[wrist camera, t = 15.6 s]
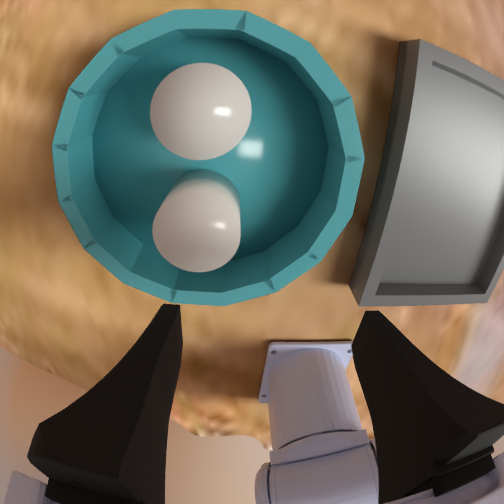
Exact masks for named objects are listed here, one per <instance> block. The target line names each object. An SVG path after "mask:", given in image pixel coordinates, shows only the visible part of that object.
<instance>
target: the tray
mask: <svg viewBox="0 0 504 504" xmlns="http://www.w3.org/2000/svg"><path fill="white" fill-rule="evenodd" d="M503 269H504V80H502V79H500V78H499V77H497V76H495V75H493V74H492V73H490V72H488V71H486V70H485V69H483V68H481V67H479V66H477V65H475V64H473V63H471V62H469V61H468V60H466V59H464V58H461V57H459V56H457V55H455V54H453V53H451V52H449V51H447V50H444V49H442V48H440V47H438V46H435V45H433V44H431V43H428V42H426V41H423V40H421V39H418V40H410V41H402V42H400V45H399V55H398V64H397V72H396V79H395V87H394V94H393V100H392V107H391V113H390V119H389V125H388V130H387V136H386V141H385V146H384V151H383V156H382V161H381V166H380V170H379V175H378V180H377V184H376V188H375V193H374V197H373V201H372V205H371V209H370V213H369V217H368V221H367V225H366V228H365V232H364V236H363V240H362V243H361V247H360V250H359V254H358V257H357V261H356V264H355V267H354V271H353V274H352V277H351V281H350V284H349V287H350V289H351V291H352V293H353V295H354V297H355V300H356V302H357V304H358V306H419V305H449V304H470V303H487V301H488V299H489V297H490V296H491V294H492V292H493V290H494V288H495V286H496V284H497V282H498V280H499V278H500V275H501V273H502V271H503Z"/></svg>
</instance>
